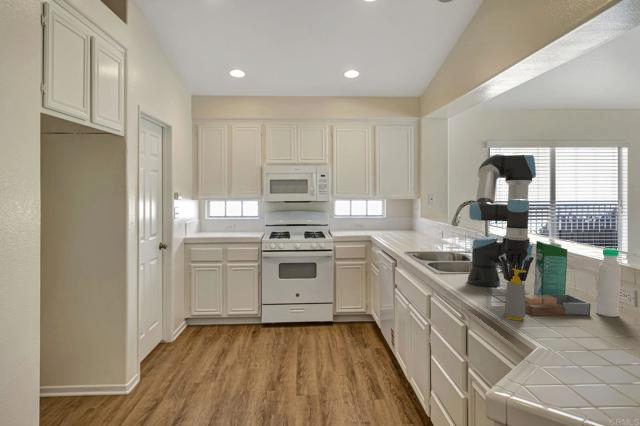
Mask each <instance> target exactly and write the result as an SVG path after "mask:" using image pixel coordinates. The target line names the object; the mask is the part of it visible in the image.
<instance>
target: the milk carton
mask: <svg viewBox="0 0 640 426" xmlns="http://www.w3.org/2000/svg"><path fill="white" fill-rule="evenodd" d="M567 264H568V249H567V248H564V247H562V244H560V243H558V242H557V243H556V242H553V241H551V243H547V242H543V241H540V240H536V246H535V264H534V265H535V267H534V269H535V270H534V284H533V286H534V287H533V288H534V289H533V295H536V296H537V295H544V294H566V286H567V285H566V284H567V267H568V265H567Z"/></svg>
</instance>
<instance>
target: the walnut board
mask: <svg viewBox="0 0 640 426" xmlns="http://www.w3.org/2000/svg"><path fill="white" fill-rule="evenodd" d="M526 312H527V313H528V314H529V315H531V316H551V317H552V316H554V317H556V316H557V317H560V316H561V317H564V316H566V315H565V308H564V307H562V306H560V305H558V304H543V303H542V304H529V303H527V302H525V313H526Z"/></svg>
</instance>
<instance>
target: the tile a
mask: <svg viewBox="0 0 640 426" xmlns="http://www.w3.org/2000/svg"><path fill="white" fill-rule="evenodd" d="M525 302H527V303H529V304H542V298H540V297H538V296H536V295H534V294H525Z"/></svg>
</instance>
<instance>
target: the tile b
mask: <svg viewBox="0 0 640 426" xmlns="http://www.w3.org/2000/svg"><path fill="white" fill-rule="evenodd" d="M537 296H538V297H540V298H542V303H543V304H557V299H556V298H554V297H552V296H550V295H537Z"/></svg>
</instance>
